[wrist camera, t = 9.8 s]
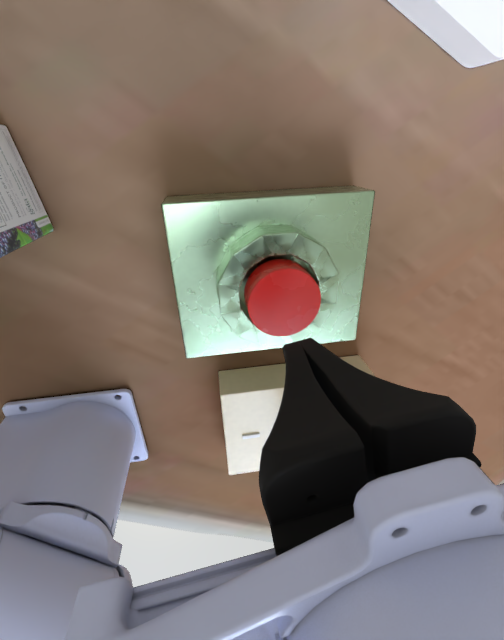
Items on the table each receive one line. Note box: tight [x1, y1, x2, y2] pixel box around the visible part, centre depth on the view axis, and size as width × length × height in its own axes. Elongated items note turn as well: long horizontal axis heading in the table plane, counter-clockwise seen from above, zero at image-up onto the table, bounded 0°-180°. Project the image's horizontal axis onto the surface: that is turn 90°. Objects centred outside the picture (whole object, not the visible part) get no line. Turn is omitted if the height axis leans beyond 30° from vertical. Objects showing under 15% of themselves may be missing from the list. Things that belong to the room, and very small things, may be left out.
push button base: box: [161, 186, 375, 358], centre depth 21 cm, size 12×10×5 cm
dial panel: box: [218, 355, 375, 475], centre depth 28 cm, size 12×9×3 cm
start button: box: [244, 259, 321, 336], centre depth 18 cm, size 4×4×2 cm
